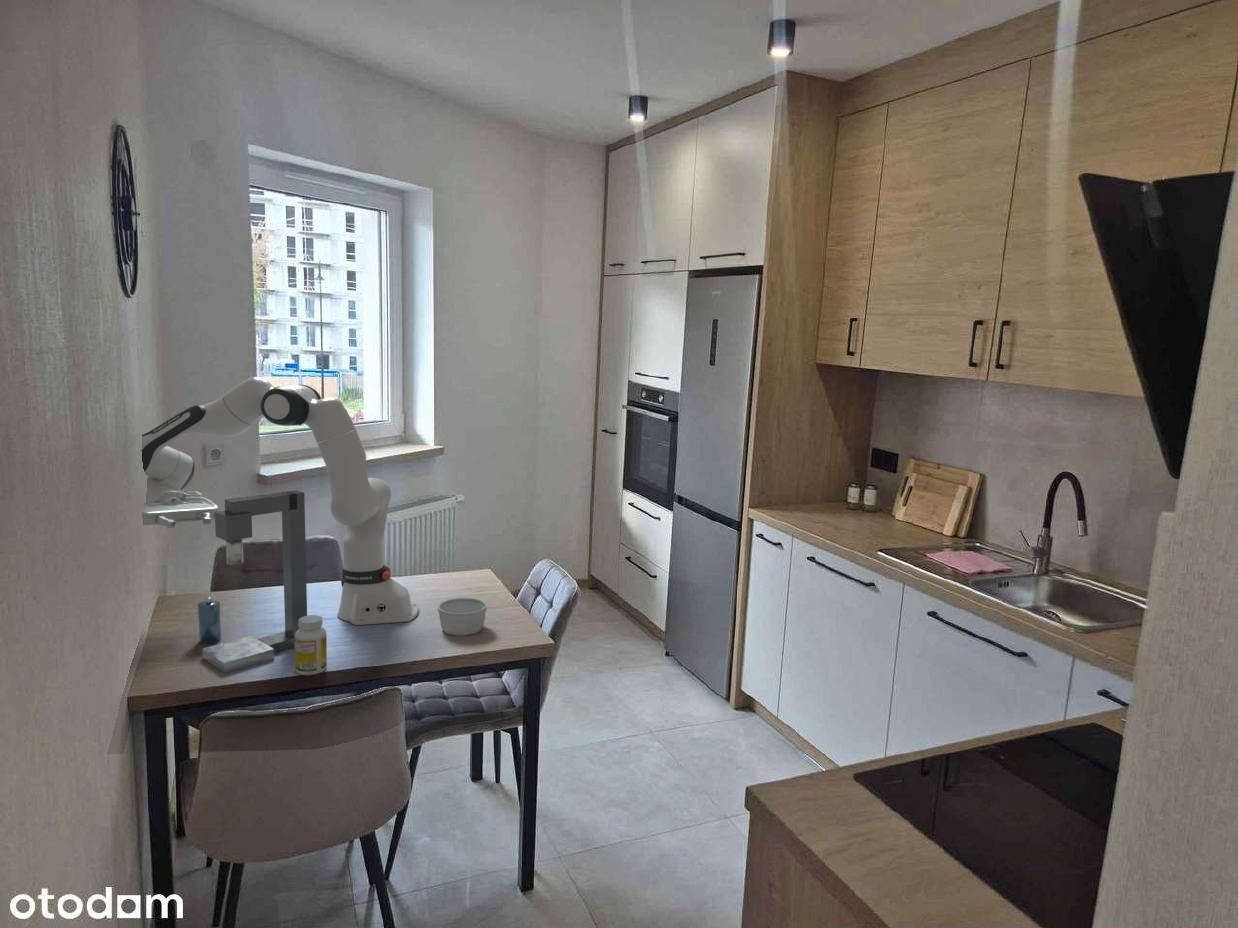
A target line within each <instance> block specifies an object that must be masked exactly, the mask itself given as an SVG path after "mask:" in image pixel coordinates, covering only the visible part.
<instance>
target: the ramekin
mask: <svg viewBox="0 0 1238 928" xmlns="http://www.w3.org/2000/svg"><path fill="white" fill-rule="evenodd" d="M437 612H438V613H439V622H440V627H441V629H442V631H444V633H445V634H447V635H451V636H456V637H457V636H458V637H459V636H460V637H462V636H471V635H476V634H477V633H479V632H480V631H481V630H483V627H484V625H485V617H486V612H487V604H486V602H485V601H483V600H481V599H478V598H473V597H457V598H456V597H455V598H451V599H450V598H449V599H446V600H444V601H442V602H441V603H439V604H438V606H437Z"/></svg>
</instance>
